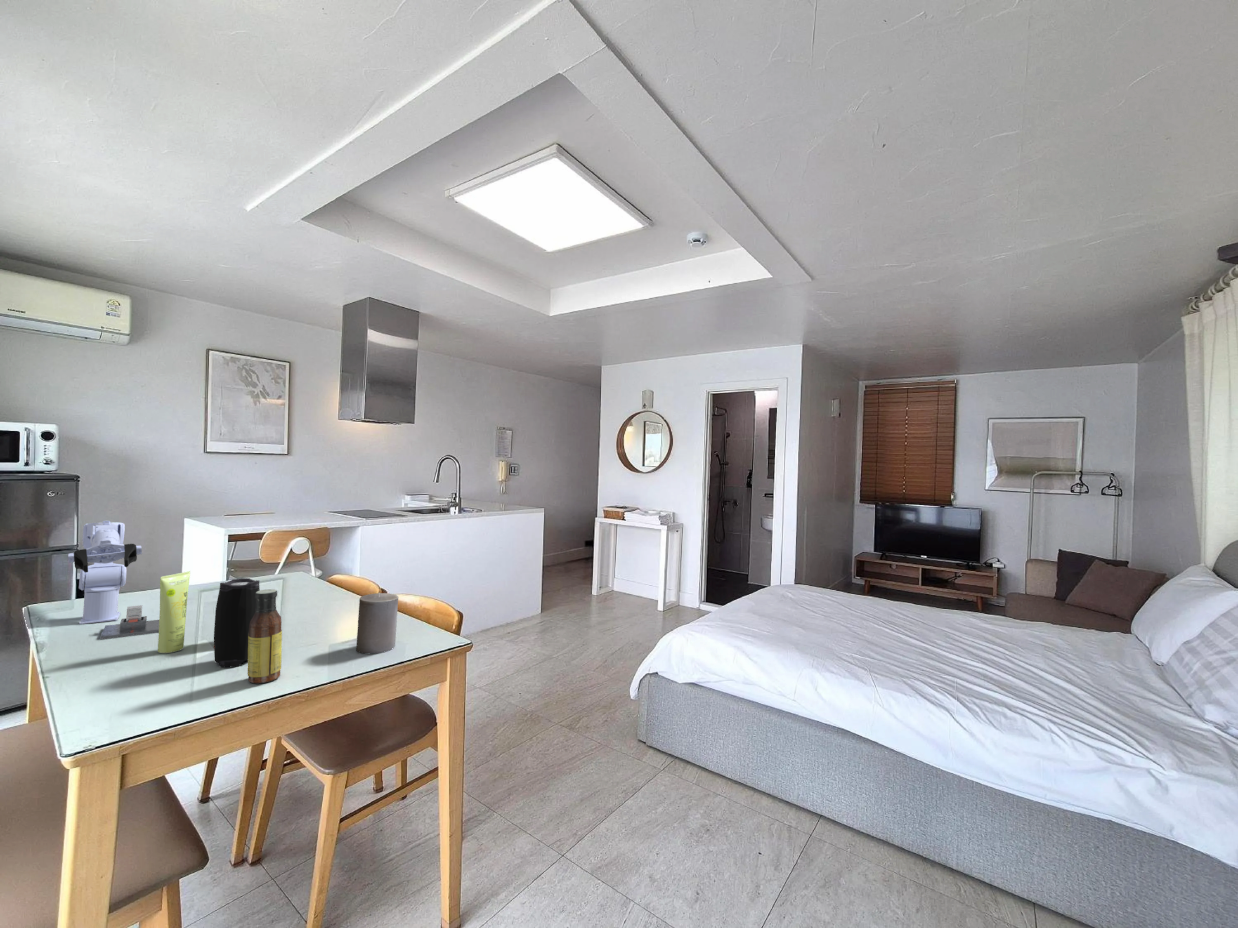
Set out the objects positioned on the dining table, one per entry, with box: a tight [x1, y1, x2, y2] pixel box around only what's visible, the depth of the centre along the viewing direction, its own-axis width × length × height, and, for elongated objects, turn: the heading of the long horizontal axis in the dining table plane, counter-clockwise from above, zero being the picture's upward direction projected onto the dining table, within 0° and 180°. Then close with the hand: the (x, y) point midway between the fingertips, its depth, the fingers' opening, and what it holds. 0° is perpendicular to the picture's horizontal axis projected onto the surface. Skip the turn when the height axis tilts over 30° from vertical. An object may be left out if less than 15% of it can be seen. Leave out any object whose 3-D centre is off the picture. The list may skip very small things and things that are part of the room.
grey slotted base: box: [100, 615, 159, 640], centre depth 142 cm, size 12×12×4 cm
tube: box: [157, 570, 191, 654], centre depth 128 cm, size 6×5×20 cm
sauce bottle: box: [247, 588, 283, 685], centre depth 113 cm, size 6×6×20 cm
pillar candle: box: [355, 591, 399, 655], centre depth 136 cm, size 10×10×15 cm
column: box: [125, 605, 143, 622], centre depth 142 cm, size 3×3×6 cm
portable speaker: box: [213, 577, 261, 668], centre depth 123 cm, size 9×9×20 cm
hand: (106, 566), depth 137 cm, fingers open, 7 cm apart
